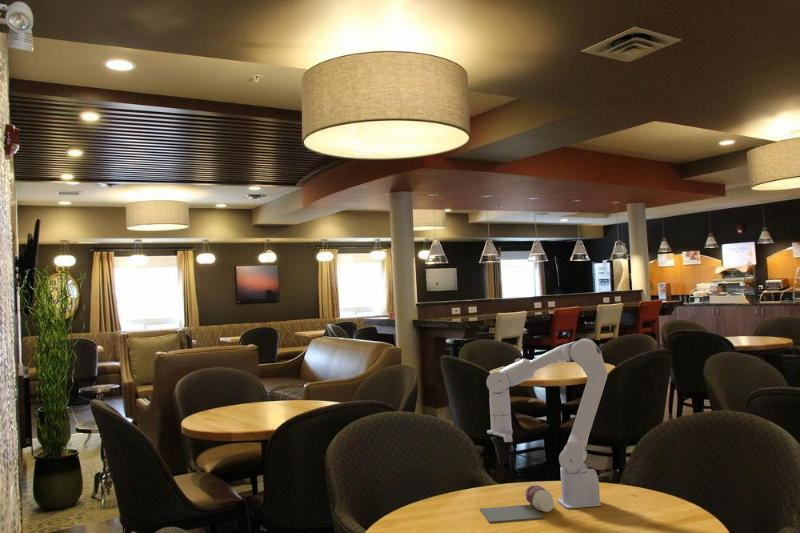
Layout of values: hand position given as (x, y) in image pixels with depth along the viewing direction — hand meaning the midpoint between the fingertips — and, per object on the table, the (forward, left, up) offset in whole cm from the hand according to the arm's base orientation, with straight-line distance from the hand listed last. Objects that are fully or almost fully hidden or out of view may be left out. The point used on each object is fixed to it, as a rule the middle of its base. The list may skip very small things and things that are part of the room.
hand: (503, 463), depth 186 cm
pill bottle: (-6, +6, -7) cm, 11 cm away
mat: (+2, +13, -10) cm, 16 cm away
